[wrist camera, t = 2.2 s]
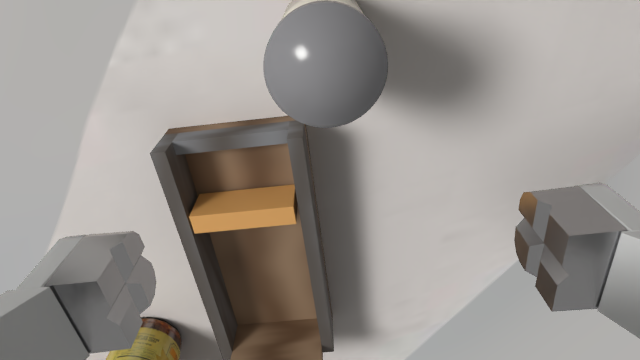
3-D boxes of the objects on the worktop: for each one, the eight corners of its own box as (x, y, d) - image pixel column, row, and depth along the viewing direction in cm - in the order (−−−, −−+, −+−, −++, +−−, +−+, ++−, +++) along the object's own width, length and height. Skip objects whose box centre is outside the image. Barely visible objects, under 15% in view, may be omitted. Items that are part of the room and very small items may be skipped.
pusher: (295, 184, 32) (293, 206, 29) (298, 200, 32) (296, 224, 30) (199, 193, 32) (189, 216, 29) (204, 209, 33) (194, 233, 30)
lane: (304, 114, 30) (301, 151, 25) (332, 316, 41) (334, 371, 35) (168, 128, 31) (138, 168, 25) (231, 324, 41) (219, 380, 36)
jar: (365, -23, 26) (385, -5, 18) (370, 70, 29) (389, 121, 21) (272, -11, 26) (252, 12, 18) (286, 80, 29) (274, 133, 21)
